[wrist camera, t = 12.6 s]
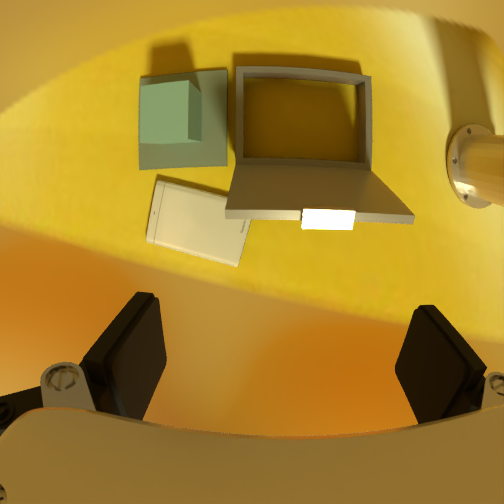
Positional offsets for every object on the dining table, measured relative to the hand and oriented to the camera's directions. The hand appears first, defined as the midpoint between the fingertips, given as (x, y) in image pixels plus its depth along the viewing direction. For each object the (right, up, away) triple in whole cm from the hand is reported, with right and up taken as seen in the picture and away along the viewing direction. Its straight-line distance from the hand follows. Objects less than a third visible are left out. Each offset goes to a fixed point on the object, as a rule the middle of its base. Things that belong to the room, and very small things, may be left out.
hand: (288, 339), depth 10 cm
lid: (+5, +9, +16) cm, 19 cm away
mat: (-10, +19, +22) cm, 31 cm away
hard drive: (-8, +7, +27) cm, 29 cm away
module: (-10, +19, +22) cm, 30 cm away
